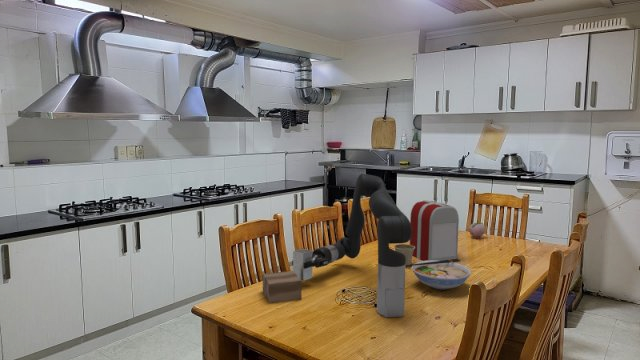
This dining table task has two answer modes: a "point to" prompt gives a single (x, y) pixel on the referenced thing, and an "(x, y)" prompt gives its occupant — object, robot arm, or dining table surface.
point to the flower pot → (405, 251)
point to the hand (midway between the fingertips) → (298, 264)
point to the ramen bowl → (441, 273)
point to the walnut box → (282, 286)
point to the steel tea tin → (298, 261)
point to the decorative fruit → (477, 229)
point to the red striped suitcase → (434, 231)
